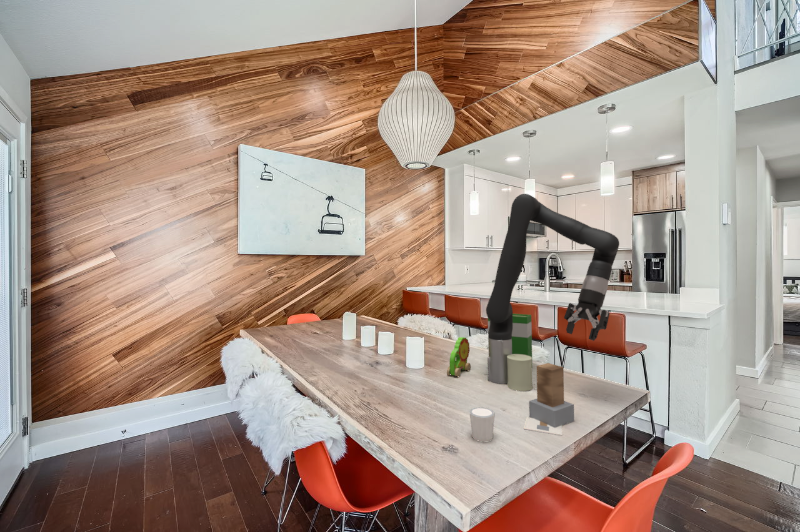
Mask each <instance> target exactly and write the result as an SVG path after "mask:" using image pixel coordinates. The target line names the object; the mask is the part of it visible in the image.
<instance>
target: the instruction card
mask: <svg viewBox="0 0 800 532" xmlns="http://www.w3.org/2000/svg"><path fill="white" fill-rule="evenodd" d="M525 418H526V419H525V423H524V427H523V429H524V430H528V431H533V432H539V433H546V434H550V435H555V434H556V435H557V436H561V435H562V436H563V426H562V425H561V426H558V427H556V428H554V427H552V426H550V425H547V424H546V423H543V422H541V421H539V420H536V419H534V418H531V417H529V416H526V417H525Z"/></svg>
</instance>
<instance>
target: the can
mask: <svg viewBox="0 0 800 532" xmlns="http://www.w3.org/2000/svg"><path fill="white" fill-rule="evenodd" d="M507 365H508V383H507V386H506V387H508V389H509V390H512V391H516V390H517V392H529V390H530V391H532V390H533V388H534V386H533V356H532V357H530V356H528V355H522V354H511V355H508V356H507Z"/></svg>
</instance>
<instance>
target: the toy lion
mask: <svg viewBox="0 0 800 532" xmlns="http://www.w3.org/2000/svg"><path fill="white" fill-rule="evenodd" d="M469 355H470V342H469V339H468V338H467V337H466V336H465V337H463V336H460V337H459V336H458V337H457V339H456V341H455V344H454V348H453V349H452V351H451V353H450V355H449V366H448V367H447V369H446V375H447V376H449V375H450V374H451V376H455V377H456V376H457V377H456V378H459V377H458V376H460V377H461V374H462V370H463V371H466V370H467V371H466V372H469V371H468V370H470V371H471V368H472V366H471V363H470V362H468V358H469ZM461 369H462V370H461Z"/></svg>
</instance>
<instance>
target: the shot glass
mask: <svg viewBox="0 0 800 532" xmlns="http://www.w3.org/2000/svg"><path fill="white" fill-rule="evenodd" d="M468 412H469V420H470V429H471V430H470V431H471V437H473V438H474V439H476V440H475V441H477V440H479V441H478V442H480V441H489V442H490V440H491V441H492V440H493V439H494V429H495V428H494V427H495V411H494V410H492V409H491V408H489V407H483V406H482V407H481V406H477V407H472V408H470V409H469V411H468ZM473 438H472V439H473ZM492 438H493V439H492Z"/></svg>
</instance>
